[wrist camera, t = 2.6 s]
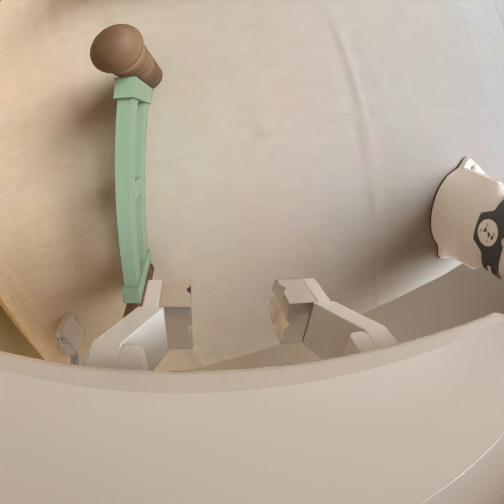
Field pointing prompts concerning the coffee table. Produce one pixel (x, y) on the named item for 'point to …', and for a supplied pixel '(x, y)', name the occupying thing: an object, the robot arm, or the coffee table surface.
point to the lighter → (70, 338)
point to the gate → (131, 183)
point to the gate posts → (126, 75)
